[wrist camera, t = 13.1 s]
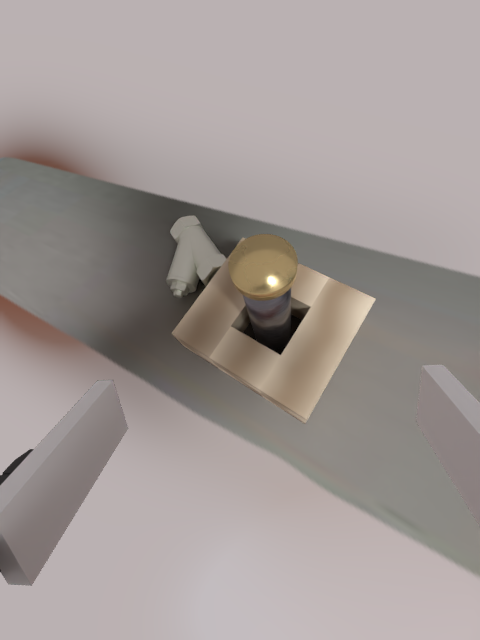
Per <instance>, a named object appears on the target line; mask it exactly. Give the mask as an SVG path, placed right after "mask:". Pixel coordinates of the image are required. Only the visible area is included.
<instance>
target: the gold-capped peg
mask: <svg viewBox="0 0 480 640" xmlns="http://www.w3.org/2000/svg"><path fill="white" fill-rule="evenodd" d="M297 265H298V260H297V255H296V252H295V250H294V248H293V247H292V245H291V244H290V243H289V242H288V241H286V240H285V239H283V238H281V237H279V236H276V235H271V234H259V235H255V236H251V237H249V238H247V239H245V240H243V241H242V242H241V243H239V244H238V245H237V246H236V247H235V249H234V250H233V251H232V253H231V255H230V258H229V263H228V268H229V273H230V276H231V279H232V282H233V284H234V286H235V288H236V289H237V290H238V291H239V292H240V293H241V294H242V295H243V298H244V301H245V304H246V308H247V311H248V314H249V317H250V321H251V324H252V327H253V331H254V334H255V337H256V340H257V342H259V343H261V344H262V345H264V346H266V347H267V348H269V349H271V350H278V349H281V348H283V347H284V346H285V345H286V344H287V343H288V342H289V340H290V337H291V287H292V285H293V284H294V282H295V280H296V276H297Z"/></svg>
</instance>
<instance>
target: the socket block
mask: <svg viewBox="0 0 480 640" xmlns="http://www.w3.org/2000/svg"><path fill="white" fill-rule="evenodd" d="M243 240H245V238H242V239H241V240H240V242H239V243H241V242H242V241H243ZM239 243H238V244H239ZM238 244H237V245H238ZM234 249H235V248H234ZM230 255H231V254H230ZM230 255H229V257H228V258H227V259H226V261H225V262H224V263H223V265H222V266H221V267H220V269H219V270H218V271H217V273H216V274H215V275H214V277H213V278H212V279H211V281H210V282H209V283H208V285H207V286H206V287H205V289H204V290H203V291H202V293H201V294H200V296H199V297H198V298H197V300H196V301H195V302H194V304H193V305H192V306H191V308H190V309H189V310H188V312H187V313H186V314H185V316H184V317H183V318H182V320H181V321H180V322H179V324H178V325H177V326H176V328H175V329H174V330H173V332H172V333H171V334H172V335H173V336H174V337H175V338H176V339H177V340H178V341H179V342H180V343H181V344H182V345H183V346H184V347H186V348H187V349H189V350H191V351H192V352H194V353H195V354H197V355H198V356H200V357H201V358H203V359H205V360H206V361H208V362H209V363H211V364H212V365H214V366H215V367H217V368H219V369H220V370H222V371H223V372H225V373H226V374H228V375H229V376H231V377H233V378H234V379H236V380H237V381H239V382H240V383H242V384H243V385H245V386H247V387H248V388H250V389H251V390H253V391H254V392H256V393H257V394H259V395H261V396H262V397H264V398H265V399H267V400H268V401H270V402H271V403H273V404H275V405H276V406H278V407H279V408H281V409H282V410H284V411H285V412H287V413H289V414H290V415H292V416H293V417H295V418H296V419H298V420H299V421H301V422H303V423H304V424H305V423H306V421H307V420H308V418H309V416H310V414H311V413H312V411H313V409H314V407H315V406H316V404H317V402H318V400H319V398H320V397H321V395H322V393H323V391H324V390H325V388H326V386H327V384H328V383H329V381H330V379H331V377H332V376H333V374H334V372H335V370H336V368H337V367H338V365H339V363H340V361H341V360H342V358H343V356H344V354H345V353H346V351H347V349H348V347H349V346H350V344H351V342H352V340H353V339H354V337H355V335H356V333H357V331H358V330H359V328H360V326H361V324H362V323H363V321H364V319H365V317H366V316H367V314H368V312H369V310H370V308H371V306H372V305H373V303H374V301H375V298H373V297H371V296H369V295H366V294H364V293H362V292H360V291H358V290H356V289H353V288H351V287H349V286H347V285H345V284H342V283H340V282H338V281H336V280H334V279H332V278H329V277H327V276H325V275H323V274H321V273H319V272H316V271H314V270H312V269H310V268H308V267H306V266H303V265H301V264H299V263H298V265H297V276H296V280H295V282H294V284H293V285H292V287H291V315H293V316H295V317H297V318H299V319H301V320H302V322H301V324H300V325H299V327H298V328H297V330H296V332H295V333H294V335H293V336H292V338H291V340H290V341H289V343H288V344H287V346H286V348H285V349H284V351H283V352H282V354H281V355H280V354H278V353H276V352H274V351H273V350H271V349H269V348H267V347H266V346H264V345H262V344H261V343H259V342H257V341H255V340H254V339H252V338H250V337H248V336H247V335H245V334H243V332H244V330H245V329H246V327H247V326H248V324H249V323H250V317H249V314H248V311H247V308H246V304H245V301H244V298H243V295H242V294H241V293H240V292H239V291H238V290H237V289H236V288H235V286H234V284H233V282H232V279H231V276H230V273H229V268H228V263H229V258H230Z"/></svg>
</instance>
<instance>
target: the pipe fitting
mask: <svg viewBox="0 0 480 640" xmlns="http://www.w3.org/2000/svg"><path fill="white" fill-rule="evenodd" d="M170 233H171V235H172V236H173V238H174V239H175V241H176V242H177V244H178V245H177V249H176V252H175V255H174V258H173V261H172V264H171V267H170V270H169V273H168V276H167V279H166V283H167V284H168V285H169V286H170V287H171V288H170V289H171V291H172V292H174V294H173V295H174V296H175V297H177V298H182V297H183V295H188V293H189V292H195V291H196V288H197V284H198V281H199V278H200V279H201V280H202V282H203V283H204V285H205V286H207V285H208V283H209V282H210V281H211V279H212V278H213V277H214V275H215V274H216V273H217V271H218V270H219V269H220V267H221V266H222V265H223V263H224V262H225V261H226V258H225V256H224V255H223V254H221V253H220V252H219V250H218V249H217V247H216V246H215V245H214V243H213V242H212V241H211V239H210V238H209V236H208V235H207V234H206V232H205V231H204V229H203V227H202V225H201V223H200V222H199V221H198V219H197V218H196V216H185V217H181V218H179V219H178V220H177V221H176V222H175V224H174V225H173V227H172V229H171V231H170Z"/></svg>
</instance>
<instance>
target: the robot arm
mask: <svg viewBox="0 0 480 640" xmlns="http://www.w3.org/2000/svg"><path fill="white" fill-rule="evenodd" d="M416 422H417V424H418V426H419V427H420V429H421V431H422V432H423V434H424V436H425V437H426V439H427V441H428V442H429V444H430V445H431V447H432V449H433V450H434V452H435V454H436V455H437V457H438V459H439V460H440V462H441V464H442V465H443V467H444V469H445V470H446V472H447V473H448V475H449V477H450V478H451V480H452V482H453V483H454V485H455V487H456V488H457V490H458V492H459V493H460V495H461V497H462V498H463V500H464V501H465V503H466V505H467V506H468V508H469V510H470V511H471V513H472V515H473V516H474V518H475V520H476V521H477V523H478V525H479V526H480V403H479V402H478V401H477V400H476V399H475V398H474V397H473V396H472V394H471V393H470V392H469V391H468V390H467V389H466V388H465V387H464V386H463V385H462V384H461V383H460V382H459V381H458V380H457V379H456V378H455V377H454V376H453V375H452V374H451V373H450V371H449V370H448V369H447V368H446V367H445V366H444V365H425V366H422V372H421V381H420V390H419V399H418V408H417V417H416ZM127 429H128V427H127V424H126V420H125V417H124V414H123V411H122V407H121V404H120V401H119V397H118V394H117V391H116V388H115V384H114V381H113V380H100V381H99V380H98V381H97V382H96V383H95V384H94V385H93V386H92V387H91V388H90V389H89V390H88V391H87V392H86V393H85V395H84V396H83V397H82V398H81V399H80V400H79V401H78V402H77V403H76V404H75V405H74V407H72V409H71V410H70V411H69V412H68V413H67V414H66V415H65V416H64V417H63V419H61V420H60V422H59V423H58V424H57V425H56V426H55V427H54V428H53V429H52V430H51V431H50V432H49V433H48V435H47V436H46V437H45V438H44V439H43V440H42V441H41V442H40V443H39V444H38V445H37V446H36V447H35V449H30V450H28V451H27V452H26V453H24V454H23V455H21V456H20V457H19V458H17V459H16V460H15V461H14V462H13V463H12V464H11V465H10V466H9V467H8V468H7V469H6V470H5V471H4V472H3V475H0V572H1V573H2V575H3V576H4V578H5V580H6V581H7V583H8V584H11V585H32V584H33V583H34V581H35V579H36V578H37V576H38V574H39V573H40V571H41V569H42V568H43V566H44V564H45V563H46V561H47V560H48V558H49V556H50V554H51V553H52V552H53V550H54V548H55V547H56V545H57V543H58V541H59V540H60V538H61V537H62V535H63V534H64V532H65V530H66V529H67V527H68V525H69V524H70V522H71V521H72V519H73V517H74V516H75V514H76V512H77V511H78V509H79V507H80V506H81V504H82V503H83V501H84V499H85V498H86V496H87V494H88V493H89V491H90V489H91V488H92V486H93V485H94V483H95V481H96V480H97V478H98V476H99V475H100V473H101V472H102V470H103V468H104V467H105V465H106V463H107V462H108V460H109V458H110V457H111V455H112V453H113V452H114V450H115V449H116V447H117V445H118V444H119V442H120V441H121V439H122V437H123V436H124V434H125V432H126V431H127Z"/></svg>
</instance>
